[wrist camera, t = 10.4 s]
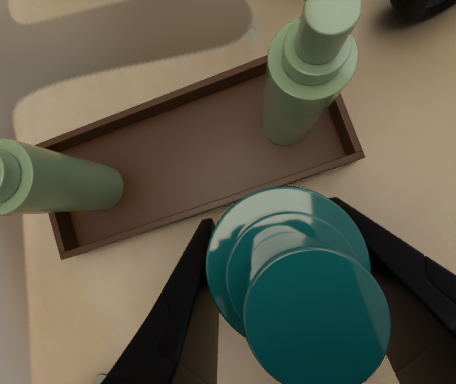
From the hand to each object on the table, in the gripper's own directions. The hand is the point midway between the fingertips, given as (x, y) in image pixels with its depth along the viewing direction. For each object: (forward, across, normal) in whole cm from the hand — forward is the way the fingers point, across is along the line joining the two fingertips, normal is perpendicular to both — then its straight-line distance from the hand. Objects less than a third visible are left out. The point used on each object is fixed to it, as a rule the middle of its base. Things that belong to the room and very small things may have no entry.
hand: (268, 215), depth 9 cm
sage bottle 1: (+12, +15, +5) cm, 20 cm away
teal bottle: (+4, 0, +6) cm, 7 cm away
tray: (+13, +6, +4) cm, 15 cm away
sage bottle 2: (+14, -4, +3) cm, 15 cm away
